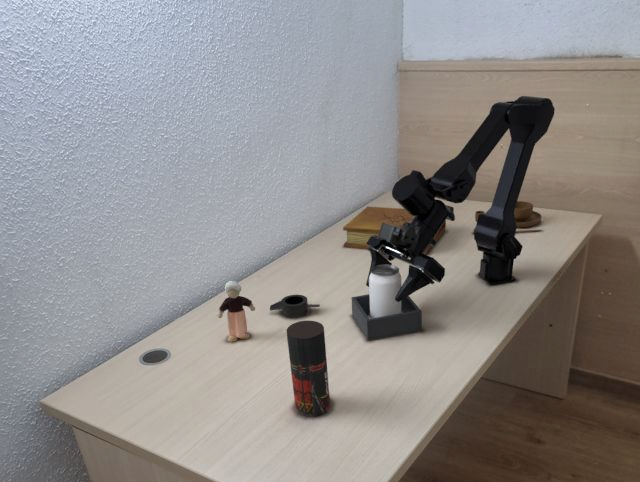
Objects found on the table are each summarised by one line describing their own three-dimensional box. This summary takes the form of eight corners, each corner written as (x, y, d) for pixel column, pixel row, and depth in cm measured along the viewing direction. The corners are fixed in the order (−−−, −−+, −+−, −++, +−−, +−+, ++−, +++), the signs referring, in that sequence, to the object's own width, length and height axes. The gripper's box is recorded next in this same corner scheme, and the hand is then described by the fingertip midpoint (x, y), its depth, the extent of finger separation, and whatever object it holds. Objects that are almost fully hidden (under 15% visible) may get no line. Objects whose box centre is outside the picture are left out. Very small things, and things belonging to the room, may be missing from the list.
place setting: (549, 231, 165) (552, 209, 162) (474, 236, 166) (476, 214, 163) (531, 210, 180) (533, 190, 177) (462, 215, 181) (463, 195, 178)
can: (400, 331, 125) (399, 276, 118) (368, 330, 126) (366, 276, 120) (402, 316, 130) (402, 263, 124) (372, 315, 131) (370, 263, 125)
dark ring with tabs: (289, 300, 141) (287, 289, 139) (323, 310, 135) (322, 298, 134) (267, 314, 135) (265, 302, 134) (302, 324, 130) (300, 312, 129)
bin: (402, 307, 134) (402, 288, 131) (421, 330, 124) (421, 311, 122) (352, 316, 132) (351, 297, 129) (367, 340, 122) (366, 320, 120)
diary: (445, 230, 172) (446, 210, 169) (426, 255, 158) (426, 233, 155) (369, 224, 181) (368, 204, 178) (344, 246, 167) (343, 226, 164)
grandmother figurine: (226, 346, 125) (216, 289, 118) (220, 338, 128) (210, 282, 121) (261, 335, 127) (253, 279, 121) (254, 328, 130) (246, 273, 124)
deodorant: (294, 398, 107) (285, 322, 99) (328, 394, 107) (322, 318, 99) (296, 418, 102) (287, 340, 94) (331, 414, 102) (325, 336, 94)
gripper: (372, 196, 124) (330, 261, 125) (435, 217, 111) (389, 290, 111) (401, 224, 132) (362, 286, 133) (464, 247, 118) (420, 315, 119)
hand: (381, 293), depth 124 cm, fingers open, 9 cm apart
